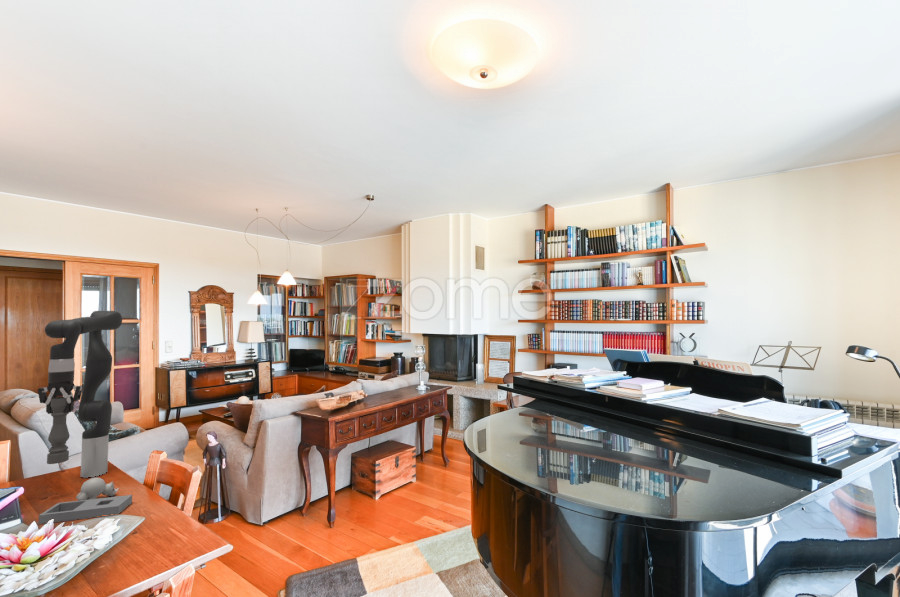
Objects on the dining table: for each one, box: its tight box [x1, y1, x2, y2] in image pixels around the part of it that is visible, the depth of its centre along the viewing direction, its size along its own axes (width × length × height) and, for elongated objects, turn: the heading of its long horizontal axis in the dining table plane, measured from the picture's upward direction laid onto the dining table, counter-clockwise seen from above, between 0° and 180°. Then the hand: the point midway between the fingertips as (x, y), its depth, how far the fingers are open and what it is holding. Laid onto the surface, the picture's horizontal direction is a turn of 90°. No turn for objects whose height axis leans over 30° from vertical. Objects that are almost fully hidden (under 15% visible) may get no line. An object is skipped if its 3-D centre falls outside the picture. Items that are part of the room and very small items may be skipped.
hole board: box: [38, 494, 133, 525], centre depth 145 cm, size 10×23×3 cm, turn 106°
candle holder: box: [46, 396, 70, 465], centre depth 160 cm, size 6×6×25 cm
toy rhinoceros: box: [75, 477, 120, 501], centre depth 157 cm, size 7×12×8 cm, turn 137°
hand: (59, 412), depth 161 cm, fingers closed on candle holder, 5 cm apart
